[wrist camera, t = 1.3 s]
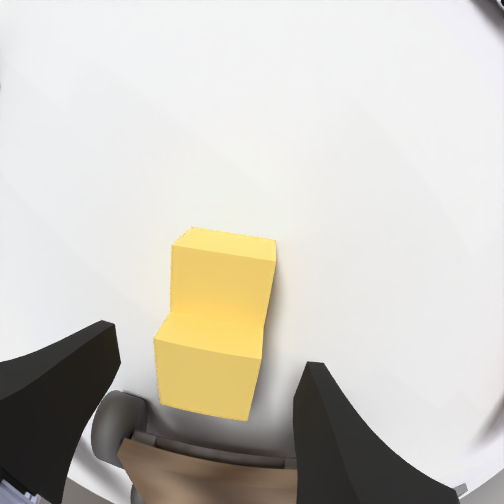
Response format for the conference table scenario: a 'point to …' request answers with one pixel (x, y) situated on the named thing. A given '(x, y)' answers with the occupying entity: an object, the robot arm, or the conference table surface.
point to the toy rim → (461, 489)
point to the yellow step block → (214, 322)
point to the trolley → (184, 463)
